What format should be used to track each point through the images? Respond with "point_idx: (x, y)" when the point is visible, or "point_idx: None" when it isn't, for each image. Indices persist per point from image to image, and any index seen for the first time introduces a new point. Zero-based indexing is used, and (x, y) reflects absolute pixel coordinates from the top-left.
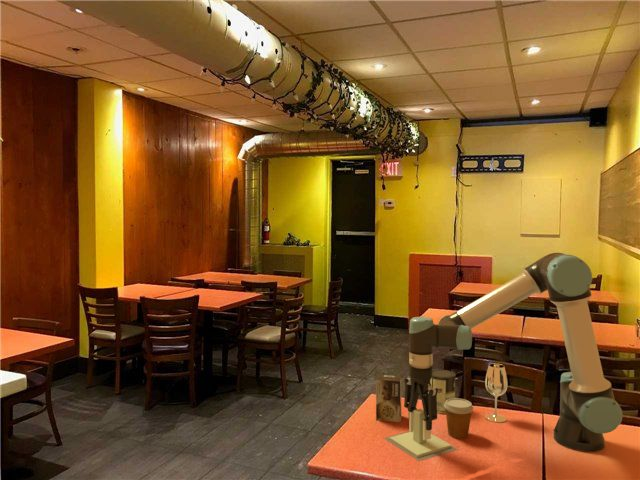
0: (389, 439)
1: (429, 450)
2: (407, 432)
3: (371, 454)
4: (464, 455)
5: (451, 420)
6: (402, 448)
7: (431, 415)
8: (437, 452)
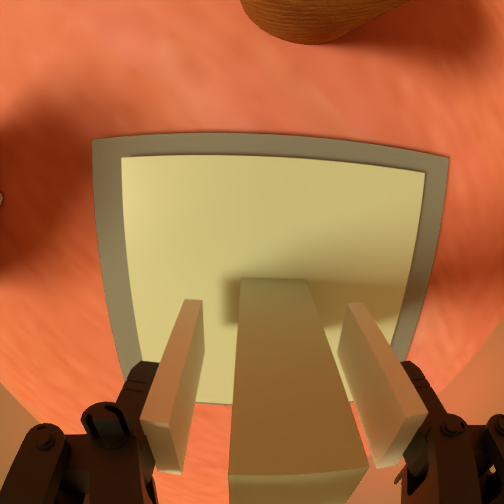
0: None
1: (386, 332)
2: (106, 258)
3: (218, 460)
4: (471, 157)
5: (361, 2)
6: None
7: (490, 491)
8: (406, 287)
